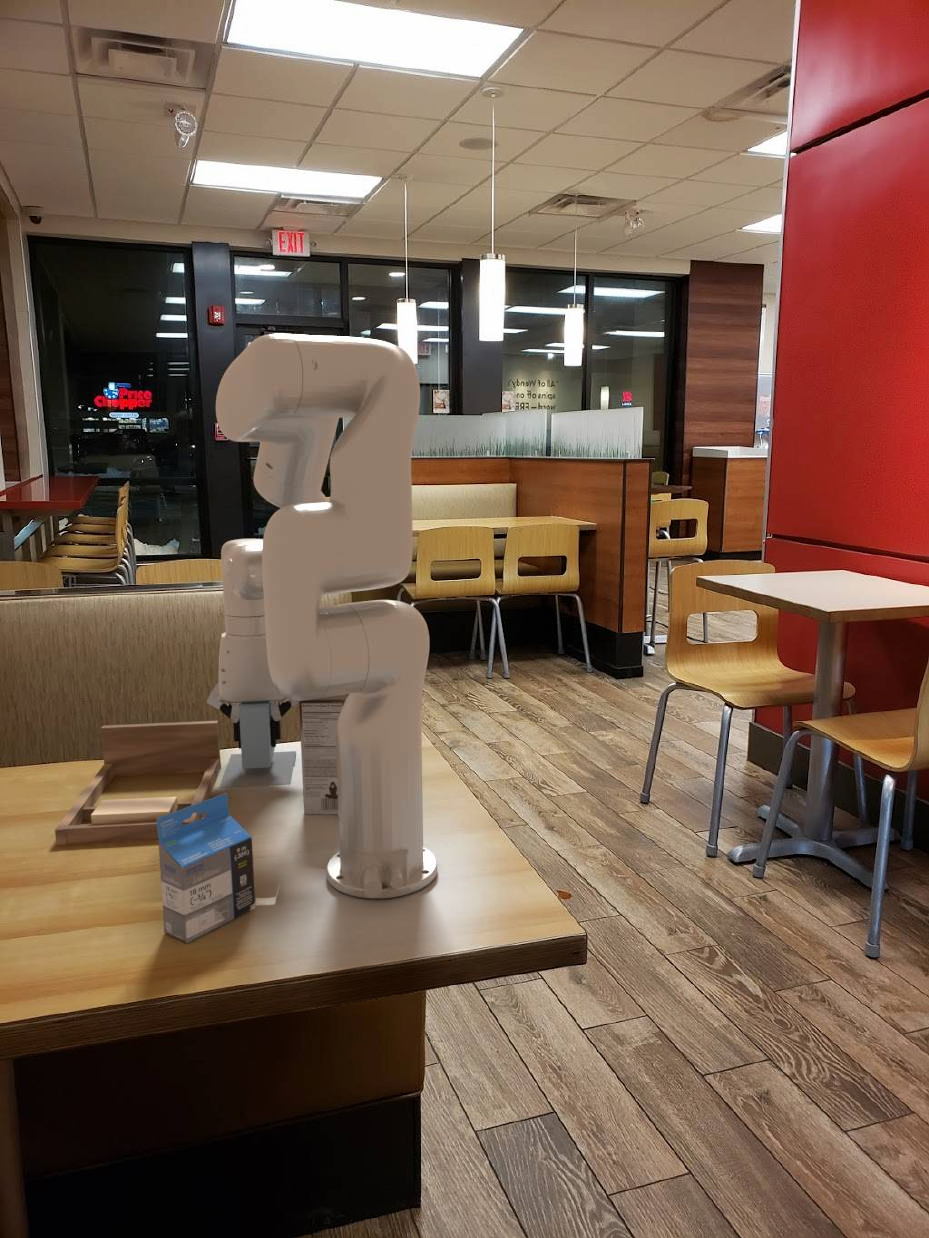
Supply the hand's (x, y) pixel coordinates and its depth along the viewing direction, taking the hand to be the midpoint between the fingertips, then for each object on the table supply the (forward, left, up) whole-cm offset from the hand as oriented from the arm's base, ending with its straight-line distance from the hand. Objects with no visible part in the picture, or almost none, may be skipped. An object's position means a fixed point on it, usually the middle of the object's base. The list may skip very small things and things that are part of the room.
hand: (258, 743), depth 135 cm
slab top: (-19, +14, -2) cm, 24 cm away
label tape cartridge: (-43, +1, -5) cm, 43 cm away
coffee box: (-13, -11, -5) cm, 18 cm away
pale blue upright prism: (0, 0, -2) cm, 2 cm away
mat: (0, 0, -4) cm, 4 cm away
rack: (-11, +14, -4) cm, 18 cm away
